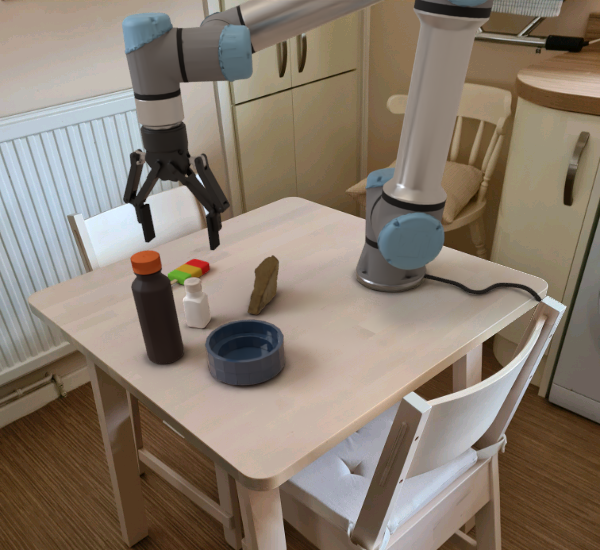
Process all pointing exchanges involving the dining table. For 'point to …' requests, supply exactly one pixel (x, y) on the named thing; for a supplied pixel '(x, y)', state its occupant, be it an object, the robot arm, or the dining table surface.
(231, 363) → the bowl
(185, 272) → the popsicle
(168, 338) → the vinegar
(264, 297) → the rock
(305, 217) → the dining table surface
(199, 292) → the pepper shaker
